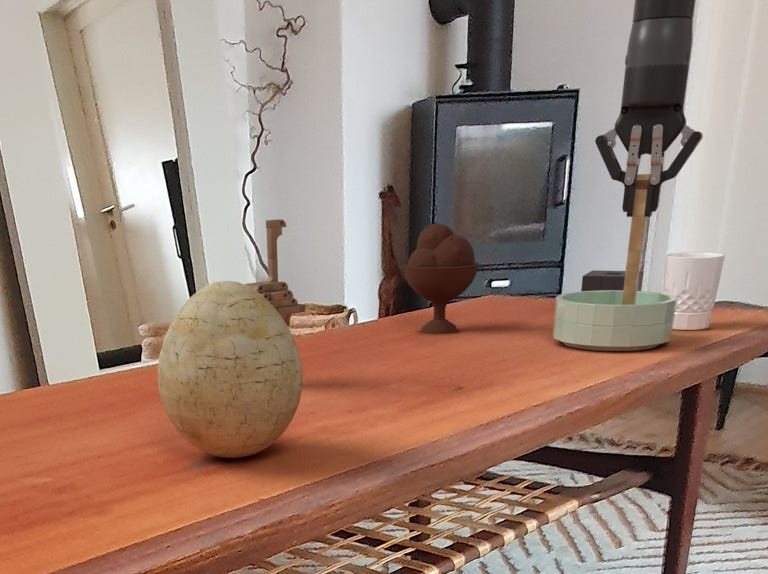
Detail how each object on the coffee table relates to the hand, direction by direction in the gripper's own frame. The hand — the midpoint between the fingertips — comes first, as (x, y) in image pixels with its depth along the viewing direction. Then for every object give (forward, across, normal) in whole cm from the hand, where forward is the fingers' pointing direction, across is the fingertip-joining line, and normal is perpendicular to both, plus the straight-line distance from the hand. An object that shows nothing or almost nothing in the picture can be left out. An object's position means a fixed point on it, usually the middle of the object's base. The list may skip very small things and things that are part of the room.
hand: (638, 215), depth 128 cm
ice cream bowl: (+16, +28, -2) cm, 32 cm away
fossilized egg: (+16, +24, +70) cm, 76 cm away
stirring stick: (+13, 0, 0) cm, 13 cm away
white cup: (+16, -7, -14) cm, 23 cm away
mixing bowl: (+16, +2, +2) cm, 16 cm away
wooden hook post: (+16, +37, +46) cm, 61 cm away
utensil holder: (+16, +6, -27) cm, 32 cm away
